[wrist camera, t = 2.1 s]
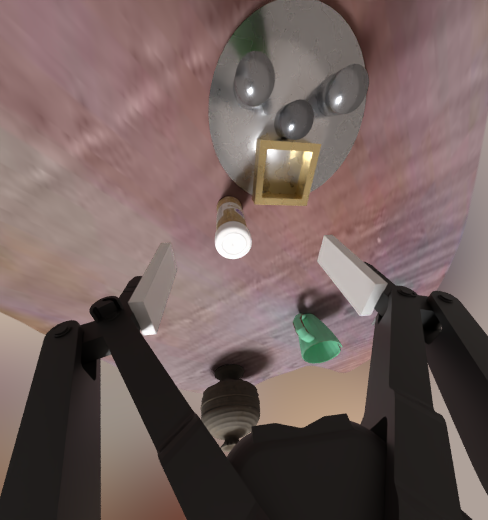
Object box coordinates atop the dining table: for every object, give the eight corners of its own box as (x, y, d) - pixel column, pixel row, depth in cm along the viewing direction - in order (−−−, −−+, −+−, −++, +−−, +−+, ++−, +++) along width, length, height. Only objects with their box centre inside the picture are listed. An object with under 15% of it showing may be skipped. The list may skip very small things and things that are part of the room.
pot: (189, 375, 63) (185, 459, 46) (232, 349, 60) (245, 429, 43) (221, 390, 72) (228, 464, 56) (260, 368, 69) (279, 439, 53)
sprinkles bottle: (246, 202, 34) (259, 236, 23) (234, 224, 36) (241, 265, 25) (222, 190, 32) (224, 220, 21) (212, 214, 34) (208, 252, 23)
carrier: (211, 196, 32) (210, 206, 28) (204, -11, 20) (200, -53, 16) (331, 200, 35) (348, 210, 31) (387, 19, 23) (429, -9, 19)
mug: (329, 318, 55) (348, 350, 47) (300, 334, 58) (314, 367, 50) (303, 292, 48) (321, 325, 40) (273, 312, 51) (283, 347, 43)
